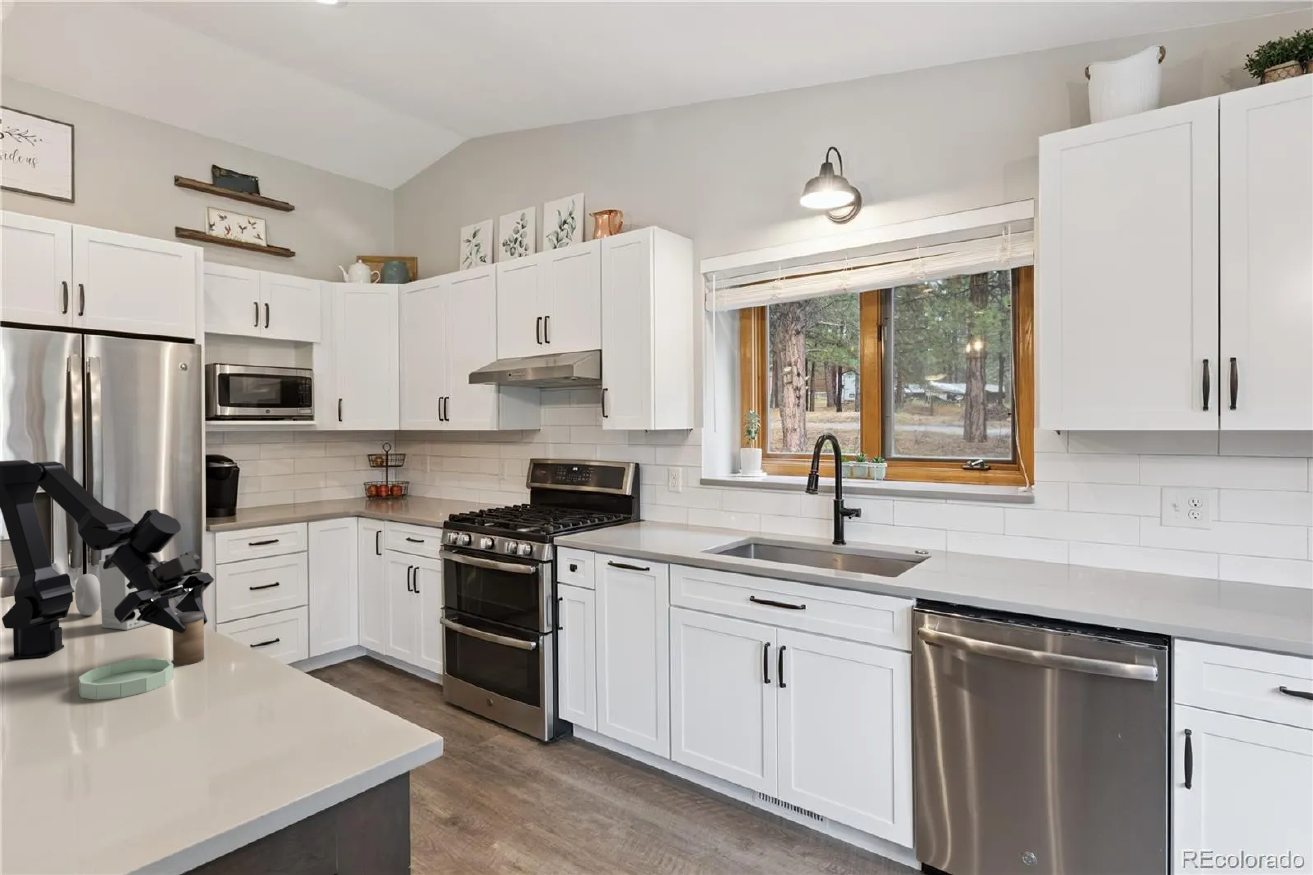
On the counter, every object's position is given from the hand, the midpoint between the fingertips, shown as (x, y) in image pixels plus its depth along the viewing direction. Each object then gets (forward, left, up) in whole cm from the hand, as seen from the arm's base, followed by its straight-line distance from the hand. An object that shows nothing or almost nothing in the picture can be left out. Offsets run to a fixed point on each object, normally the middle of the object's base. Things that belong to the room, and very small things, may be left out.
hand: (194, 627), depth 136 cm
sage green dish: (-7, -11, -7) cm, 15 cm away
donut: (-37, +43, -7) cm, 57 cm away
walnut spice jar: (-1, +1, -7) cm, 7 cm away
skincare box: (-24, +31, -7) cm, 40 cm away
